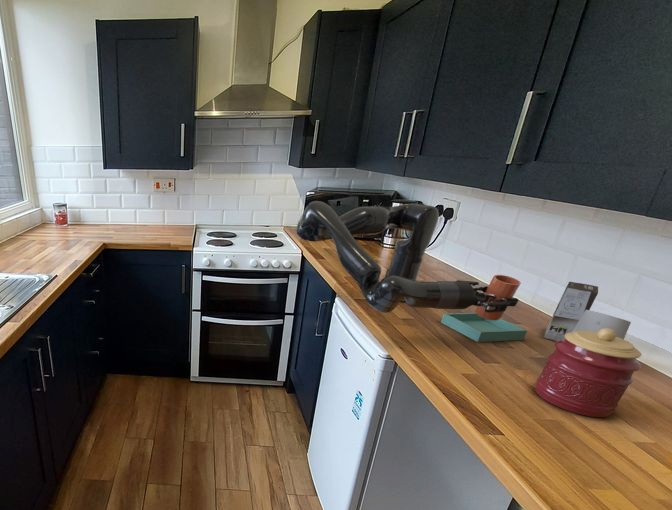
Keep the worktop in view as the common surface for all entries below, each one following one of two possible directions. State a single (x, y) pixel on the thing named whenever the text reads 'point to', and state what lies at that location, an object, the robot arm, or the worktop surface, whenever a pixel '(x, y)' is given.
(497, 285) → the tumbler
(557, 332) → the coffee box
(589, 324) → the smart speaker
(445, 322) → the tray
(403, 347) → the worktop surface
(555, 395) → the kitchen canister
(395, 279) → the robot arm
